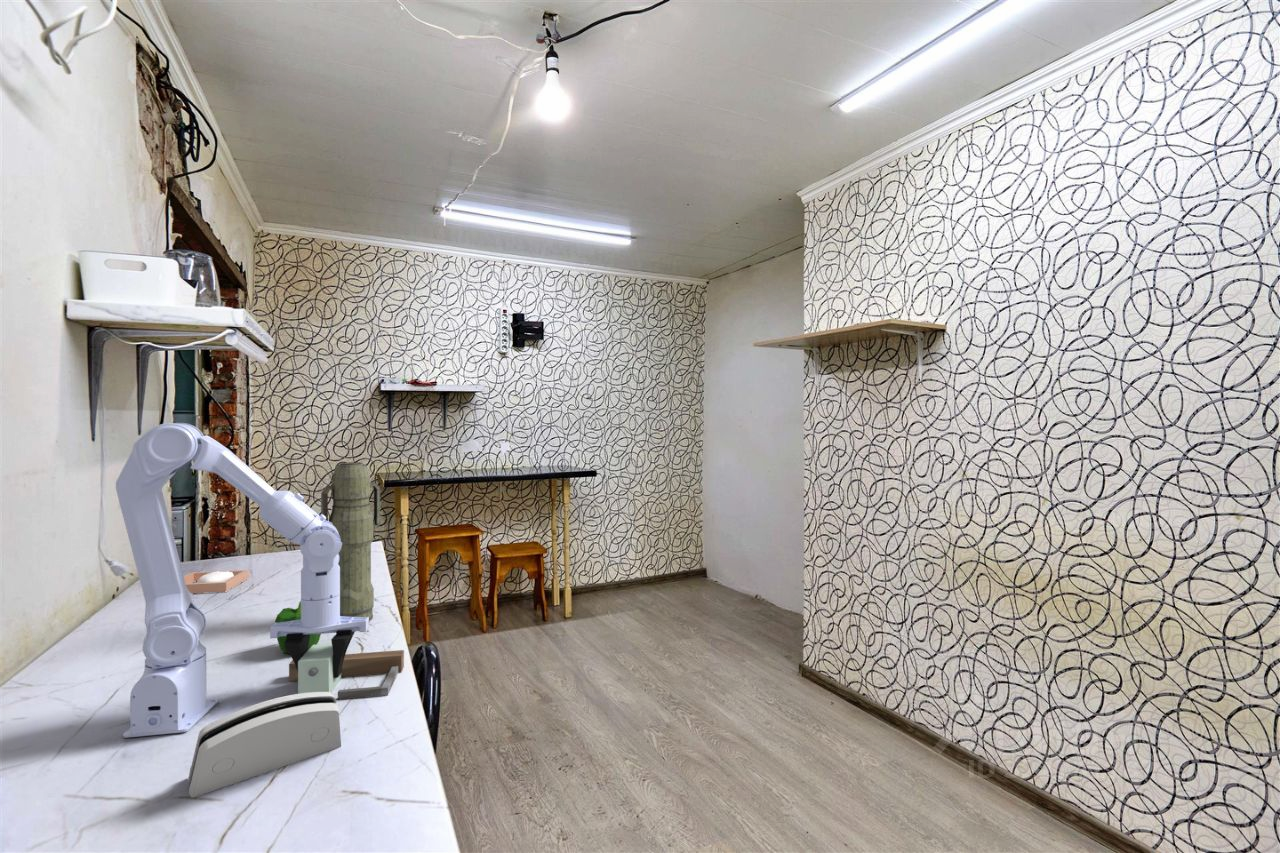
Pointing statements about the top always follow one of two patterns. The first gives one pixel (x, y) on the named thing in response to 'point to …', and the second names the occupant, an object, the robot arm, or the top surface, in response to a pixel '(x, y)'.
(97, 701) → the top surface
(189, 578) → the tan flat square tray
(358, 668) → the wall board
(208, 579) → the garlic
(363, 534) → the thermos
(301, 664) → the cabinet block
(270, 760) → the grey napkin holder
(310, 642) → the bell pepper
